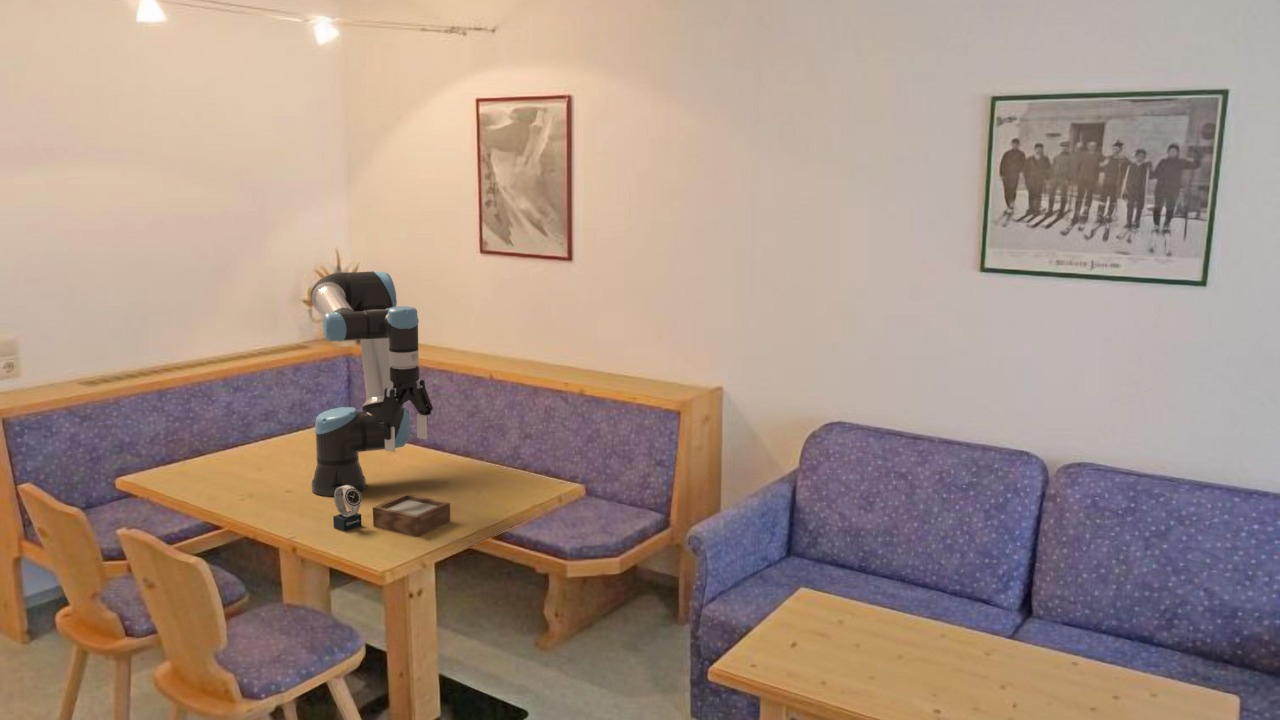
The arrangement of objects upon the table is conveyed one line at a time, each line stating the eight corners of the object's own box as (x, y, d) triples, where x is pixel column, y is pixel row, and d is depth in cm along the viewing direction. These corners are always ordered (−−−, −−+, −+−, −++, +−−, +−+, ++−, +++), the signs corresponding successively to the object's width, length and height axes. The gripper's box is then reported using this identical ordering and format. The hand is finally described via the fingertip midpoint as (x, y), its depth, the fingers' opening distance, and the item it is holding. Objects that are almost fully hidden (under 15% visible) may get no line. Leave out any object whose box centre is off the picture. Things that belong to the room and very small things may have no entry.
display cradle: (373, 526, 262) (372, 507, 261) (406, 511, 273) (406, 493, 272) (417, 536, 255) (417, 517, 254) (450, 521, 266) (449, 502, 265)
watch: (348, 533, 257) (346, 492, 255) (329, 526, 261) (327, 486, 259) (366, 527, 261) (365, 487, 259) (347, 520, 266) (345, 480, 264)
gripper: (384, 376, 248) (387, 458, 252) (444, 359, 270) (446, 435, 274) (360, 373, 251) (364, 454, 255) (422, 356, 273) (423, 431, 277)
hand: (406, 444), depth 265 cm, fingers open, 13 cm apart
